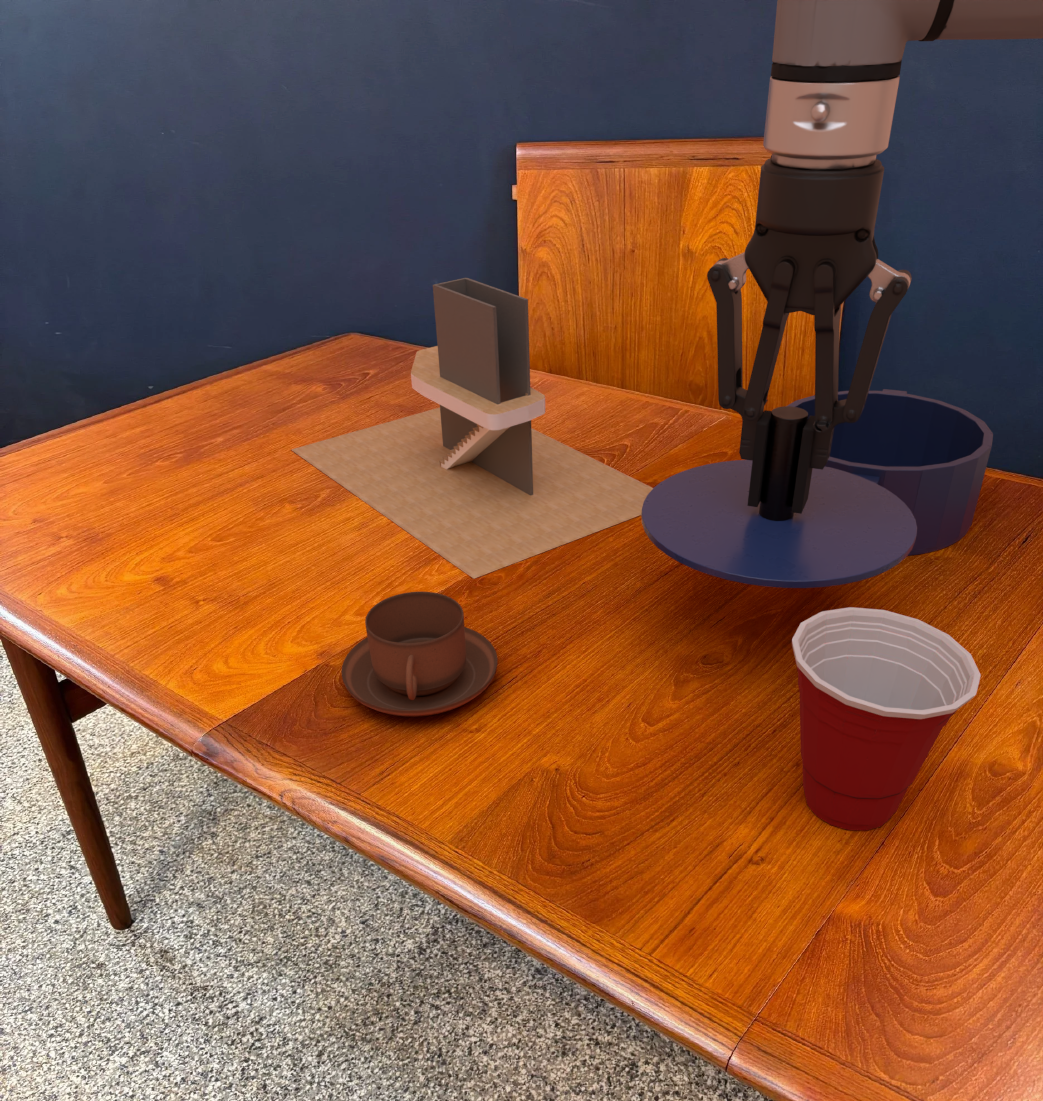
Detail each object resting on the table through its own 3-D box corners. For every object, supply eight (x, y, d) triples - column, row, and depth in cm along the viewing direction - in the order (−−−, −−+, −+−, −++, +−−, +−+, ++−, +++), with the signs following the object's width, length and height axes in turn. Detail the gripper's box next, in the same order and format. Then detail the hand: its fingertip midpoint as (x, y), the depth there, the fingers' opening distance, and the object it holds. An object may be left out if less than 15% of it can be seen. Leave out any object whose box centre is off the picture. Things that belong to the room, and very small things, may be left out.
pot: (978, 472, 106) (998, 393, 101) (962, 585, 88) (985, 496, 83) (790, 449, 113) (800, 373, 108) (739, 550, 94) (748, 464, 89)
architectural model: (290, 449, 117) (258, 270, 105) (471, 398, 129) (460, 232, 117) (473, 578, 92) (458, 362, 80) (678, 500, 103) (691, 301, 91)
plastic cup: (943, 875, 61) (992, 719, 54) (761, 844, 63) (785, 691, 56) (935, 762, 69) (977, 614, 62) (775, 739, 72) (797, 594, 65)
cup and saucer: (519, 709, 76) (516, 641, 72) (362, 746, 73) (351, 677, 69) (472, 629, 85) (468, 564, 81) (331, 659, 82) (320, 593, 78)
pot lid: (926, 492, 82) (951, 381, 77) (897, 618, 67) (926, 491, 62) (681, 458, 89) (688, 354, 84) (605, 566, 74) (607, 448, 68)
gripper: (684, 162, 63) (664, 507, 77) (952, 172, 58) (877, 540, 72) (714, 143, 68) (690, 469, 82) (961, 151, 63) (890, 496, 77)
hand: (777, 501), depth 77 cm, fingers closed on pot lid, 3 cm apart
